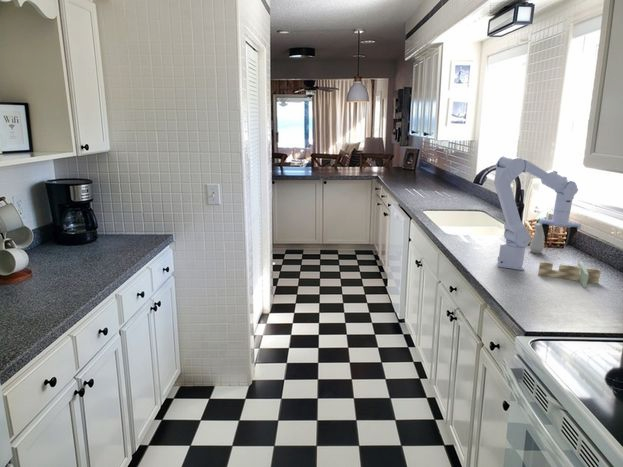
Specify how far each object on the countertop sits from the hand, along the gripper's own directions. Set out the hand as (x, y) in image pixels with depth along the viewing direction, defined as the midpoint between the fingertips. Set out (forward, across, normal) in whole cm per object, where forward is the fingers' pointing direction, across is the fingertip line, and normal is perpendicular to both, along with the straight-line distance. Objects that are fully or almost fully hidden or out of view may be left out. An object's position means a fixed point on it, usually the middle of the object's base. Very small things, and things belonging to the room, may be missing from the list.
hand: (556, 244), depth 189 cm
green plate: (+9, +8, -14) cm, 19 cm away
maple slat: (+9, +4, -14) cm, 17 cm away
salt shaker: (+10, -5, +20) cm, 23 cm away
